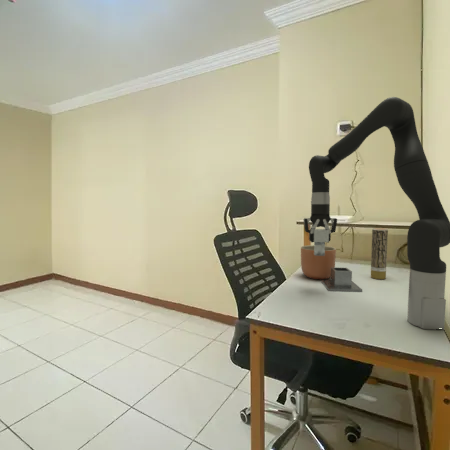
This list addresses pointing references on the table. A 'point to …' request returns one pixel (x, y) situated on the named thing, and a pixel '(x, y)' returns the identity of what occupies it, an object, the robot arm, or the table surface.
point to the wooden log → (379, 253)
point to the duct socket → (341, 281)
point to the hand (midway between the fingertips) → (319, 242)
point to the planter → (317, 262)
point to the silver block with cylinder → (320, 241)
